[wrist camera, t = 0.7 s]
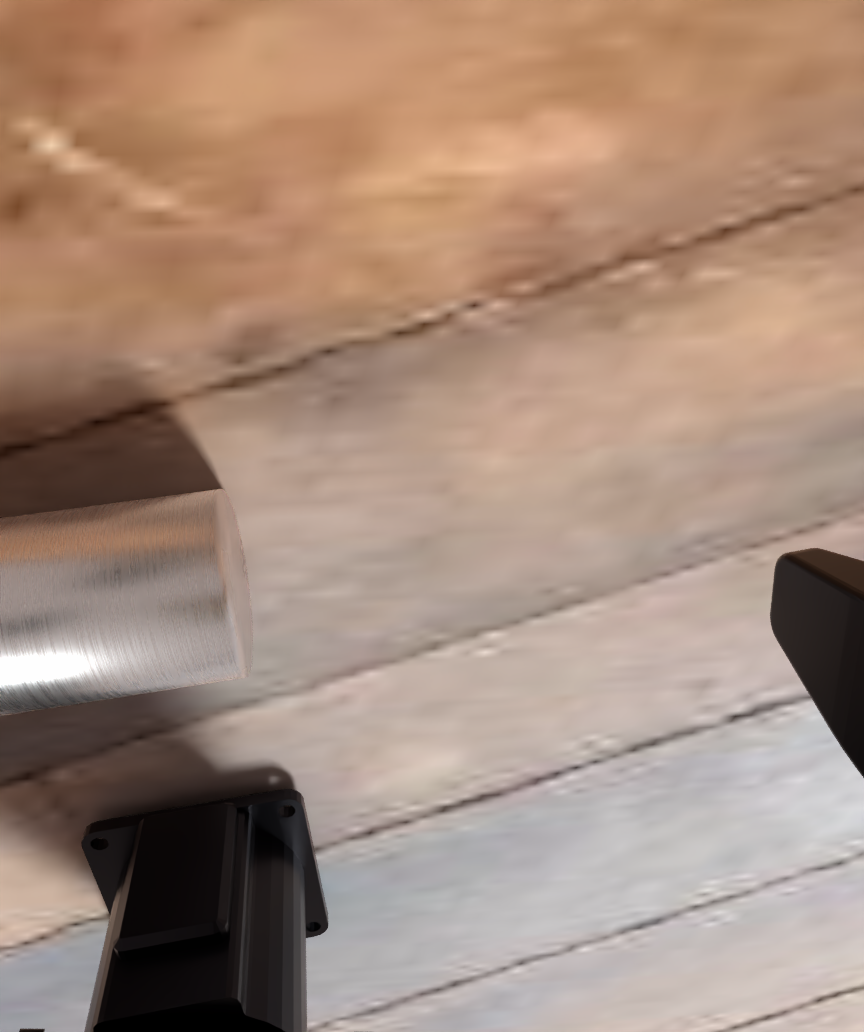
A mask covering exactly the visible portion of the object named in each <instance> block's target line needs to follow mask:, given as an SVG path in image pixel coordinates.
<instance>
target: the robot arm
mask: <svg viewBox="0 0 864 1032" xmlns="http://www.w3.org/2000/svg"><path fill="white" fill-rule="evenodd" d="M770 620H771V626H772V630H773V633H774V635H775V637H776V639H777V641H778V643H779V644H780V646H781V648H782V649H783V651H784V653H785V654H786V656H787V658H788V659H789V661H790V663H791V664H792V666H793V668H794V669H795V671H796V673H797V674H798V676H799V678H800V680H801V681H802V683H803V685H804V686H805V688H806V690H807V691H808V693H809V695H810V696H811V698H812V700H813V701H814V703H815V705H816V706H817V708H818V710H819V711H820V713H821V715H822V716H823V718H824V720H825V722H826V723H827V725H828V727H829V728H830V730H831V731H832V733H833V735H834V736H835V738H836V739H837V741H838V742H839V744H840V745H841V747H842V749H843V750H844V751H845V753H846V754H847V756H848V757H849V758H850V760H851V761H852V763H853V764H854V765H855V767H856V768H857V770H858V771H859V772H860V774H861V775H862V776H863V778H864V561H861V560H858V559H854V558H851V557H848V556H844V555H841V554H837V553H834V552H830V551H827V550H823V549H819V548H810V549H805V550H800V551H795V552H789V553H785V554H783V555H782V556H780V557H779V558H778V560H777V562H776V566H775V572H774V582H773V592H772V602H771V612H770ZM285 805H291V806H290V807H283V806H285ZM99 838H104V839H99ZM82 848H83V850H84V853H85V855H86V858H87V860H88V863H89V865H90V867H91V870H92V872H93V875H94V877H95V879H96V882H97V884H98V887H99V889H100V891H101V894H102V896H103V899H104V901H105V904H106V906H107V908H108V911H109V913H110V920H109V924H108V929H107V933H106V938H105V942H104V947H103V951H102V956H101V960H100V964H99V969H98V973H97V978H96V982H95V987H94V991H93V995H92V1000H91V1004H90V1009H89V1013H88V1018H87V1022H86V1027H85V1031H84V1032H307V990H306V938H309V937H314V936H318V935H321V934H322V933H324V932H325V931H326V930H327V928H328V912H327V907H326V903H325V898H324V893H323V889H322V884H321V879H320V874H319V870H318V865H317V860H316V855H315V851H314V846H313V841H312V837H311V832H310V827H309V822H308V818H307V813H306V808H305V803H304V799H303V796H302V795H301V793H299V792H298V791H296V790H292V789H284V790H278V791H272V792H266V793H260V794H254V795H249V796H243V797H237V798H231V799H225V800H219V801H214V802H208V803H202V804H196V805H190V806H184V807H179V808H173V809H167V810H161V811H155V812H149V813H144V814H138V815H132V816H126V817H120V818H114V819H109V820H103V821H97V822H94V823H91V824H90V825H89V826H87V828H86V830H85V832H84V836H83V839H82ZM44 1031H45V1029H20V1031H19V1032H44Z"/></svg>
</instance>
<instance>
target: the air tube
mask: <svg viewBox="0 0 864 1032" xmlns="http://www.w3.org/2000/svg"><path fill="white" fill-rule="evenodd" d="M252 657H253V627H252V611H251V600H250V591H249V583H248V576H247V569H246V563H245V557H244V551H243V546H242V541H241V536H240V532H239V528H238V524H237V520H236V516H235V513H234V510H233V507H232V504H231V501H230V499H229V497H228V495H227V493H226V492H225V491H224V490H223V489H216V490H208V491H201V492H193V493H186V494H178V495H171V496H163V497H156V498H148V499H141V500H133V501H126V502H118V503H111V504H103V505H96V506H88V507H81V508H73V509H66V510H58V511H51V512H43V513H36V514H28V515H21V516H13V517H6V518H0V716H5V715H12V714H18V713H24V712H31V711H37V710H43V709H50V708H56V707H62V706H69V705H75V704H81V703H88V702H94V701H100V700H107V699H113V698H119V697H126V696H132V695H138V694H145V693H151V692H157V691H164V690H170V689H176V688H182V687H189V686H195V685H201V684H208V683H214V682H220V681H227V680H233V679H239V678H246V677H248V676H249V674H250V671H251V666H252Z"/></svg>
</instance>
